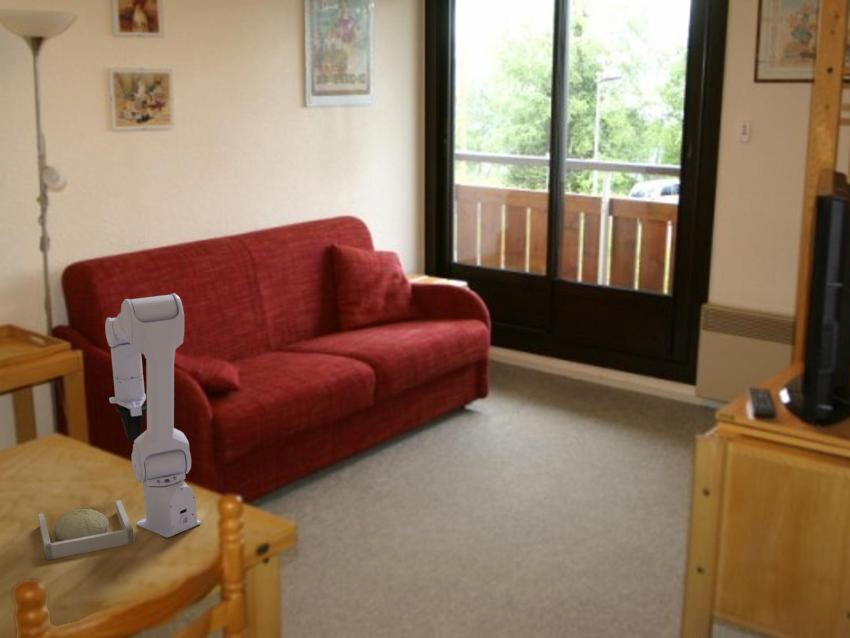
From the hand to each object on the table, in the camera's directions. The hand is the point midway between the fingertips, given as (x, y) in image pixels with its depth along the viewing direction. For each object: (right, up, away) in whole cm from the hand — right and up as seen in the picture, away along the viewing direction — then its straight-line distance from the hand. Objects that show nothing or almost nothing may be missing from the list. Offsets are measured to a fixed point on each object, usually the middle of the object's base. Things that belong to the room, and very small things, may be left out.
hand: (133, 439), depth 213 cm
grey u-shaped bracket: (-3, -15, -20) cm, 25 cm away
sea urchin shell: (-4, -16, -21) cm, 26 cm away
